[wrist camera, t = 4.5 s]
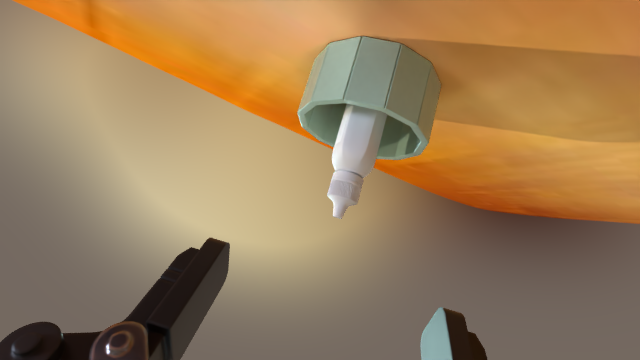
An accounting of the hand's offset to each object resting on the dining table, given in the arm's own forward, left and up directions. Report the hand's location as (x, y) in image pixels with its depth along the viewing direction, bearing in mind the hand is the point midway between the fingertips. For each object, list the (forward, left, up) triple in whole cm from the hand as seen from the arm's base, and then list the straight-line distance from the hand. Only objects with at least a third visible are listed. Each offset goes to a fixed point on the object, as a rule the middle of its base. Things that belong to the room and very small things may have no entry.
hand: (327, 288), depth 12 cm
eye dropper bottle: (-1, -12, -16) cm, 20 cm away
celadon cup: (-1, -12, -16) cm, 20 cm away
